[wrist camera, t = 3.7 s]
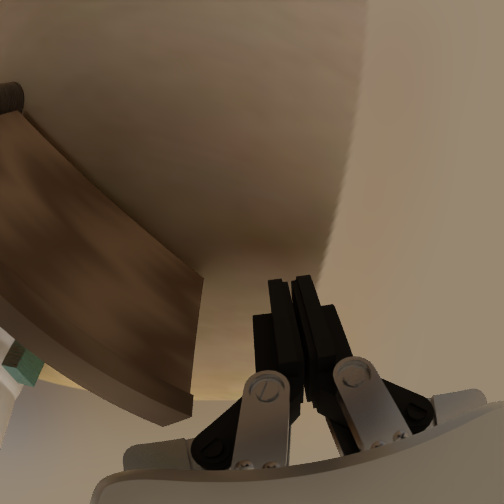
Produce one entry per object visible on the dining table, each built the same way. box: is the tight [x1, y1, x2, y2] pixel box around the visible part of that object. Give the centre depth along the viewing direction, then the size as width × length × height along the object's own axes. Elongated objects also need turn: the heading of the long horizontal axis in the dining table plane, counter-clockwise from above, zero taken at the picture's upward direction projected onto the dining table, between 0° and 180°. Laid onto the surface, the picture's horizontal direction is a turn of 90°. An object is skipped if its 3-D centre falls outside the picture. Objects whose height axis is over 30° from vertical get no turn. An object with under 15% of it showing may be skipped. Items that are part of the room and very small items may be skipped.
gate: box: [0, 110, 204, 427], centre depth 10 cm, size 16×2×9 cm, turn 42°
